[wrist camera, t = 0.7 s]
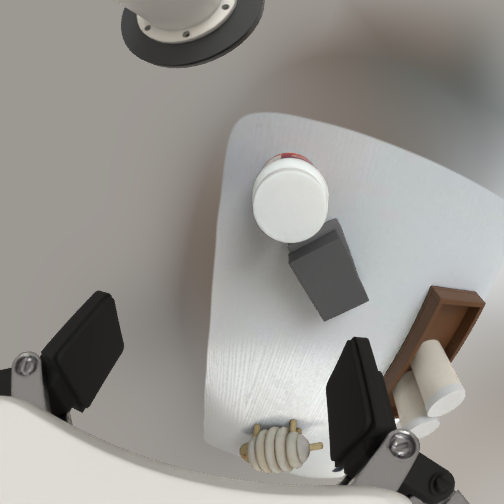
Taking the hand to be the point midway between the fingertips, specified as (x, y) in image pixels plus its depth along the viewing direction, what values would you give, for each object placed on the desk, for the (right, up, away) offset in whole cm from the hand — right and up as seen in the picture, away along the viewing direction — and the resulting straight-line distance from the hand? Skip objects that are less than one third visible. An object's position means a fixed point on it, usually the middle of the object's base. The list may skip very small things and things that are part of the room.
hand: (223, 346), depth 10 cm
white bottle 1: (+29, -13, +25) cm, 40 cm away
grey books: (+10, +2, +22) cm, 24 cm away
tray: (+29, -14, +27) cm, 42 cm away
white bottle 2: (+28, -19, +28) cm, 44 cm away
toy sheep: (+7, -32, +38) cm, 50 cm away
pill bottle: (+5, +11, +19) cm, 22 cm away
